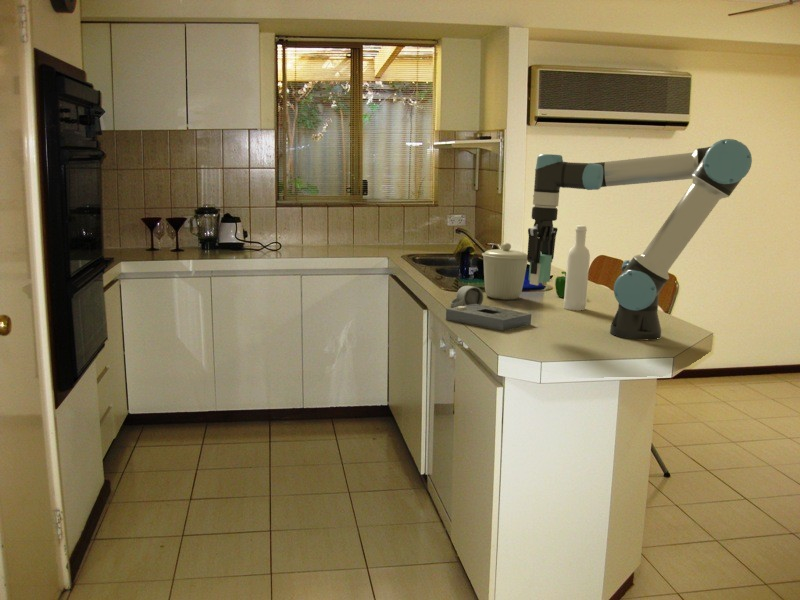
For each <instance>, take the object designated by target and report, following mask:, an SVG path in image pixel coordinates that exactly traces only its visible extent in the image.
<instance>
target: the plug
mask: <svg viewBox="0 0 800 600" xmlns="http://www.w3.org/2000/svg"><path fill="white" fill-rule="evenodd" d="M551 260H552V255H545V254H541V255H540V260H539V264H540V275H539V282H542V283H541V285H542V286H547V284H546V282H547V283H549V282H551V281H550V280H551V270H552V262H551ZM552 261H553V260H552ZM528 269H529V271H528V281H529V282H530V274H531V263H530V262H529V268H528Z"/></svg>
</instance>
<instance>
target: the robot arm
mask: <svg viewBox="0 0 800 600" xmlns="http://www.w3.org/2000/svg"><path fill="white" fill-rule="evenodd" d="M752 159H753V158H752V154H751V151H750V149H749V148H748V146H747V145H745V144H744V143H743V142H741V141H738V140H737V139H733V138H732V139H731V138H725V139H720V140H718V141H716V142H715V143H713V144H712V145H710V146H707V147H701V148H695V150H693V152H687V153H685V152H684V153H676V154H667V155H658V156H657V155H655V156H649V157H648V156H646V157H637V158H629V159H619V160H611V161H604V162H589V163H587V162H568V161H564V159H563V155H562V154H551V153H550V154H549V153H541V154H539V155H537V158H536V165H535V169H534V171H535V172H534V174H535V175H534V185H533V186H534V187H533V195H532V205H534V206H533V207H531V219H532V220H534V223H533V226H532V228H531V227H529V228H527V233H528V240H527V241H528V243H527V253H526V254H527V260H528V261H527V263H529V264H530V263H531V274H530V281H529V284H530V285H534V286H539V285H540V284H542V282H539V275H540V264H539V260H540V255H541V254H545V255H552V260H551V263H553V260H554V255H555V246H556V238H557V234H558V227H554V224H553V221H557V219H558V211H559V210H558V208H557V207H558V206H559V200H560V189H561V188H563V189H578V190H587V191H592V190H593V191H595V190H596V191H598V190H600V189H601V188H605V187H616V186H626V185H627V186H629V185H639V184H650V183H660V182H661V183H663V182H671V181H672V182H673V181H681V180H682V181H683V180H692V183H691V184H690V186H689V188H688V189H687V190H686V192H685V193H684V194H683V196H682V197H681V199H680V200H679V201H678V203H677V204H676V206H675V207H674V208H673V210H672V211H671V213H670V214H669V215H668V217H667V218H666V220H665V221H664V222H663V224H662V225H661V226H660V228H659V230H658V231H657V233H656V234H655V235H654V237H653V238H652V239H651V241H650V242H649V244H648V245H647V247H645V250H644V251H643V252H642V253H641V254H636V255H634V256H633V257H632V258H631V259H630V260H629V259H628V260H624V261H623V262H622V265H621V274H620V275H618V276H617V278H616V280H615V281H614V284H613V294H614V297H615V300H616V301H617V303H618V306H617V311H616V313H615V315H614V316H613V320H612V321H611V324H610V329H609V333H610V334H611V335H613V336H615V335H616V337H619V338H624V339H628V338H629V339H630V340H637V339H656V340H658V339H657V338H660V337H661V336H662V328H661V324H660V318H659V315H658V314H659V312H658V309H659V302H660V301H659V299H660V292H661V291H662V289H663V288H664V287H665V285H666V284H667V282H668V280H669V279H670V275H669V270H670V269H671V268H672V266H673V265H674V263H675V262H676V261H677V259H678V258H679V256H681V253H682V252H683V251H684V250H685V248H686V247H687V245H688V244H689V242H690V241H691V240H692V239H693V237H694V236H695V234H696V233H697V231H698V230H699V229H700V227H702V225H703V224H704V222H705V221H706V219H707V218H708V216H710V214H711V212H712V211H713V209H714V208H715V207H716V206H717V204H718V203H719V201H720V200H722V199H726V198H729V197H730V196H731V195H732V193H733V192H734V191H735V189H736V188H737V187H738V185H739V184H740V183H741V181H742V180H743V179H744V178H745V177H746V176H747V175H748V174H749V172H750V170H751V167H752V163H753V160H752ZM547 283H548V282H546V285H547ZM629 339H628V340H629ZM660 339H661V338H660Z"/></svg>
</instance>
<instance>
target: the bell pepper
mask: <svg viewBox="0 0 800 600" xmlns="http://www.w3.org/2000/svg"><path fill="white" fill-rule="evenodd" d="M561 274H562V275H561V276H556V278H555V280H554V281H555V283H554V286H555V292H556V295H557V296H558V297H560V298H563V299H564V294H565V282H566V271H564V270H563V271H561Z"/></svg>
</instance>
